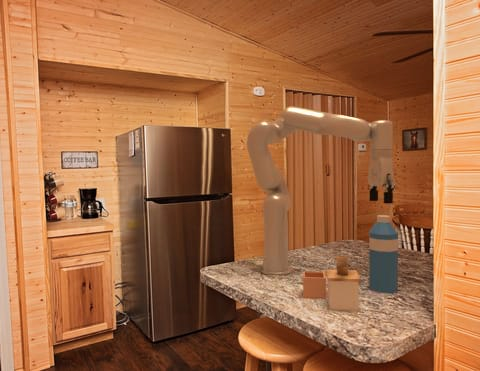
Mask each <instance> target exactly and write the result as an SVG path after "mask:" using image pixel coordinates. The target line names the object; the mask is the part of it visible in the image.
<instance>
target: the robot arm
mask: <svg viewBox="0 0 480 371" xmlns="http://www.w3.org/2000/svg"><path fill="white" fill-rule="evenodd" d="M393 124H394V123H393V122H392V120H389V119H387V120H386V119H385V120H384V119H383V120H381V119H380V120H375V121H374V120H373V121H372V122H368V121H367V120H365V119H362V118H359V117H353V116H348V115H342V114H335V113H331V112H325V111H319V110H313V109H309V108H304V107H300V106H299V107H298V106H293V105H292V106H287V107H285V108H284V109H283V110H282V111H281V115H280V117H279V118H278V119H276V120H274V121H271V122H270V121H268V120H263V121H262V120H261V121H259V122H257V123H256V124H254V125H253V127H251V129H250V131H248V132H249V133H248V135H247V138H246V146H247V147H246V148H247V153H248V155H249V156H248V157H249V159H250V163H251V166H252V169H253V173H254V176H255V178H256V183H257V186H258V187H259V188H260V189H261V190H263V191H265V194H266V196H265V198H264V200H263V203H262V208H261V209H262V216H263V217H262V219H263V235H264V237H263V241H264V242H263V243H264V245H263V246H264V247H263V248H264V252H263V253H264V254H263V255H264V258H263V259H261V260H253V266H256V267H260V272H261V273H262V274H265V275H267V276H268V275H269V276H286V275H291V273H293V267H291V266H289V223H288V222H289V221H288V212H289V210H290V209H291V207H292V198H291V194H290V191H289V188H288V185H287V182H286V178H285V176H284V173H283V172H282V171H281V169H279V168H278V167H276V166H275V163H274V160H273V156H272V153H271V151H270V148H269V145H275V144H277V143H278V142H280V141H282V140H284V139H286V138H287V137H289V136H291V135H293V134H294V133H296V132H298V131H301V132H306V133H309V134H310V133H311V134H315V135H320V136H327V135H328V136H335V137H340V138H346V139H349V140H352V141H354V142H356V143H364V142H365V143H366V142H370V143H369V145H370V149H369V150H370V151H369V153H370V154H369V158H370V159H369V163H368V171H367V186H368V190H369V198H368V200H369V202H378V201H379V190H378V188H379V187H382V188H383V190H384V192H383V204H385V205H386V204H388V205H389V204H393V203H394V191H395V188H396V182H397V180H396V178H395V177H394V166H393V145H394V144H393V143H394V142H393V136H394V133H393V132H394V126H393Z"/></svg>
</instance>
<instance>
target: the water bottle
mask: <svg viewBox="0 0 480 371" xmlns="http://www.w3.org/2000/svg"><path fill="white" fill-rule="evenodd" d="M390 218H391V216H390V215H386V214H385V215H384V214H382V215H381V214H380V215H378V214H377V215H376V222H375V223H374V224H373V226H372V227H371V229H370V230H369V236H368V238H369V239H368V240H369V242H368V243H369V244H368V245H369V246H368V247H369V248H368V250H369V252H368V253H369V254H368V256H369V257H368V258H369V264H368V266H369V269H368V272H369V273H368V274H369V277H368V279H369V281H368V282H369V283H368V284H369V290H372V291H374V292H377V293H386V294H391V293H395V292H398V291H399V287H398V285H399V282H398V281H399V276H398V275H399V262H398V261H399V233H398V232H397V231H396V229H395V227H394V226H393V224H392V223H391V221H390V220H391V219H390Z"/></svg>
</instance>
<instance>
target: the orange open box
mask: <svg viewBox="0 0 480 371" xmlns="http://www.w3.org/2000/svg"><path fill="white" fill-rule="evenodd" d="M302 291H303V292H302V298H303V299H319V300H320V299H321V300H323V299H325V300H326V299H327V275H326V271H302Z"/></svg>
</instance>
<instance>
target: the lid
mask: <svg viewBox="0 0 480 371" xmlns="http://www.w3.org/2000/svg"><path fill="white" fill-rule="evenodd" d="M325 276H326V280H327V282H328V281H348V282H359V283H361V282H362V281H361V277H360V275H359V272H358V271H357V270H354V269H353V270H352V269H350V270H349V256H345V255H338V256H336V269H325Z"/></svg>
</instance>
